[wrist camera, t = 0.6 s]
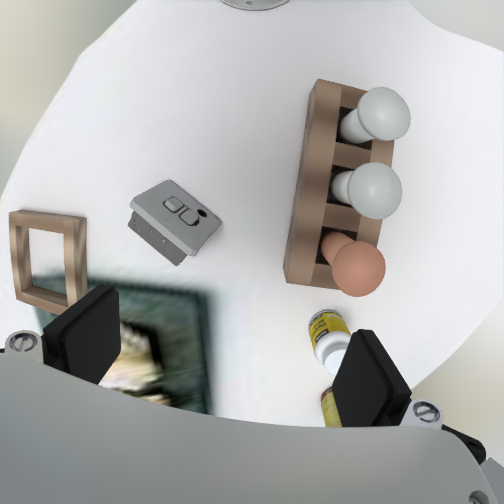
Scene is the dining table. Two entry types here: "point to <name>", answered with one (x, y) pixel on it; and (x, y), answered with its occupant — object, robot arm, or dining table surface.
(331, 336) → the supplement bottle
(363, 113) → the grey plug
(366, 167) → the grey plug
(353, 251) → the terracotta plug
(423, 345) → the dining table surface
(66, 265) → the square wooden frame
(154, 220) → the electrical switch
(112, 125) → the dining table surface
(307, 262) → the block
